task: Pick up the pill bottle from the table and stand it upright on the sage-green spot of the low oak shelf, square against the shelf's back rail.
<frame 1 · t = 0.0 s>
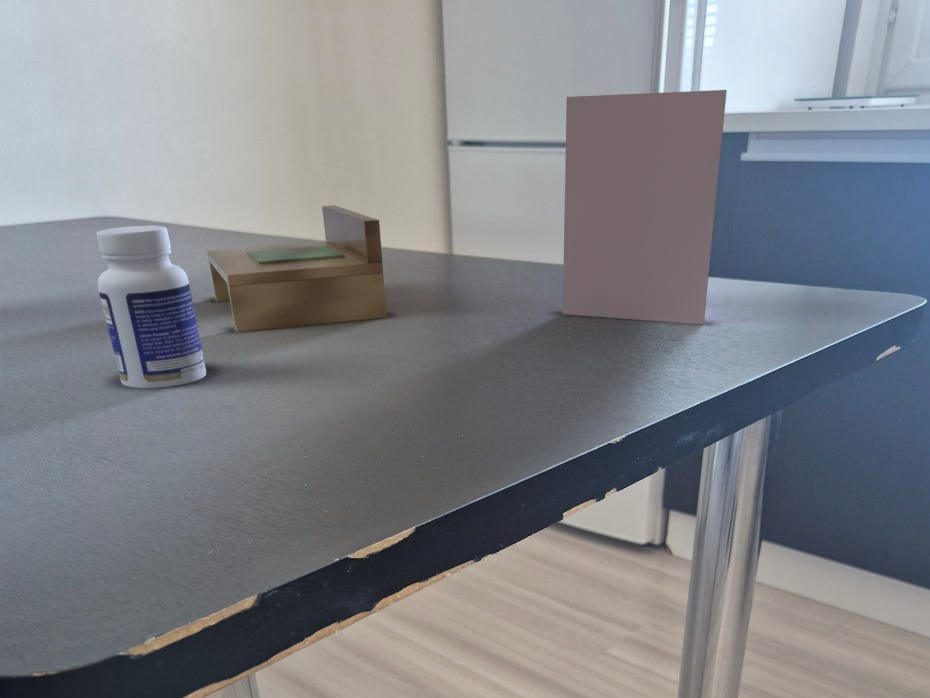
shelf: (296, 311, 75), on the table
pill bottle: (165, 384, 56), on the table
greeting card: (627, 322, 68), on the table
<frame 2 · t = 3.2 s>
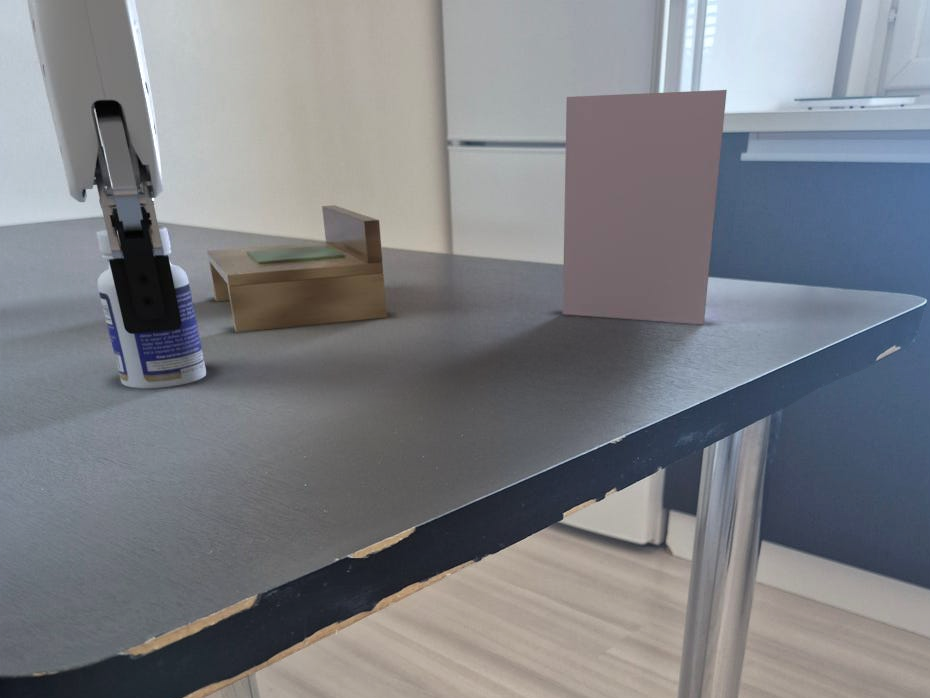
hand: (151, 318, 54), 4 cm above the table, tool pointing down, fingers closed on pill bottle, 5 cm apart
pill bottle: (165, 384, 56), on the table, touching gripper
everything else where it was.
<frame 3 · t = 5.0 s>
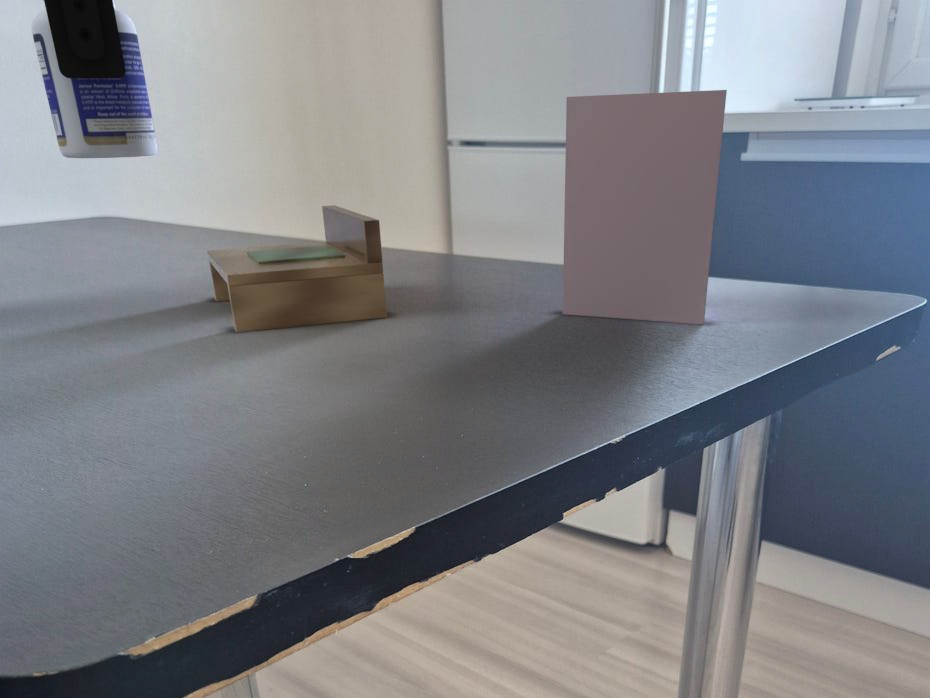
hand: (93, 75, 48), 17 cm above the table, tool pointing down, fingers closed on pill bottle, 5 cm apart
pill bottle: (111, 160, 50), point 12 cm above the table, touching gripper
everything else where it was.
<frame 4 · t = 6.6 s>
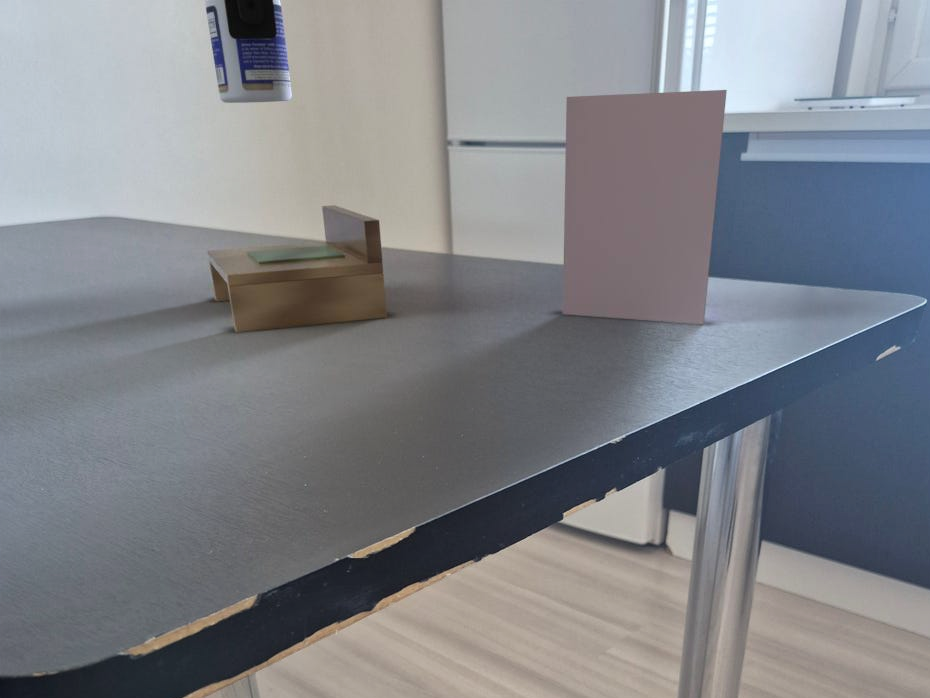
hand: (247, 38, 63), 19 cm above the table, tool pointing down, fingers closed on pill bottle, 5 cm apart
pill bottle: (257, 104, 65), point 15 cm above the table, touching gripper
everything else where it was.
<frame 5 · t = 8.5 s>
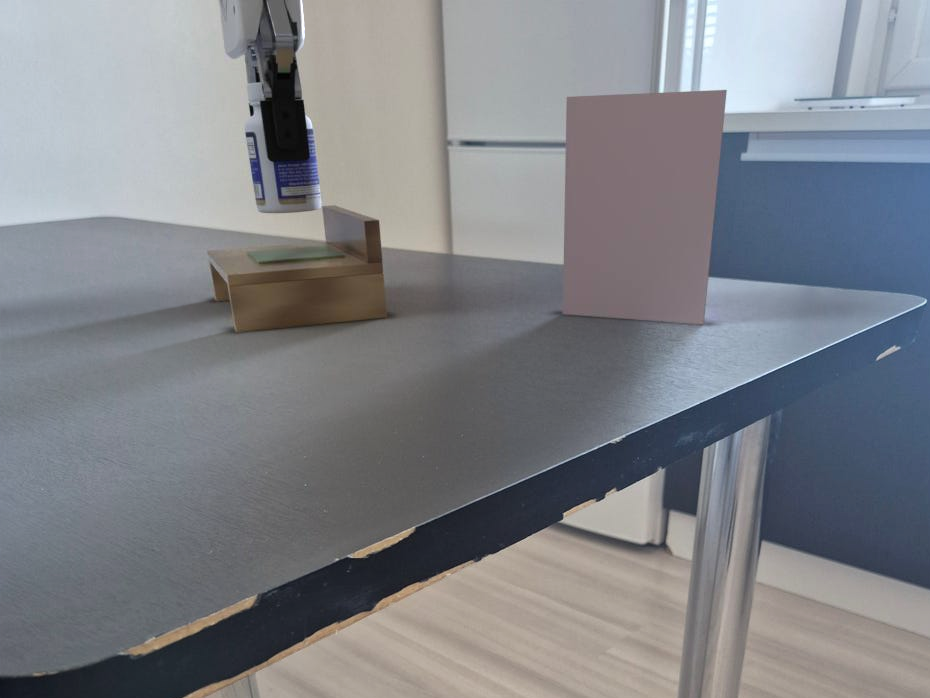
hand: (282, 157, 70), 12 cm above the table, tool pointing down, fingers closed on pill bottle, 5 cm apart
pill bottle: (290, 213, 72), point 8 cm above the table, touching gripper
everything else where it was.
when the fingers open (8 cm above the table, at t = 9.8 s): pill bottle stays where it is, resting on shelf.
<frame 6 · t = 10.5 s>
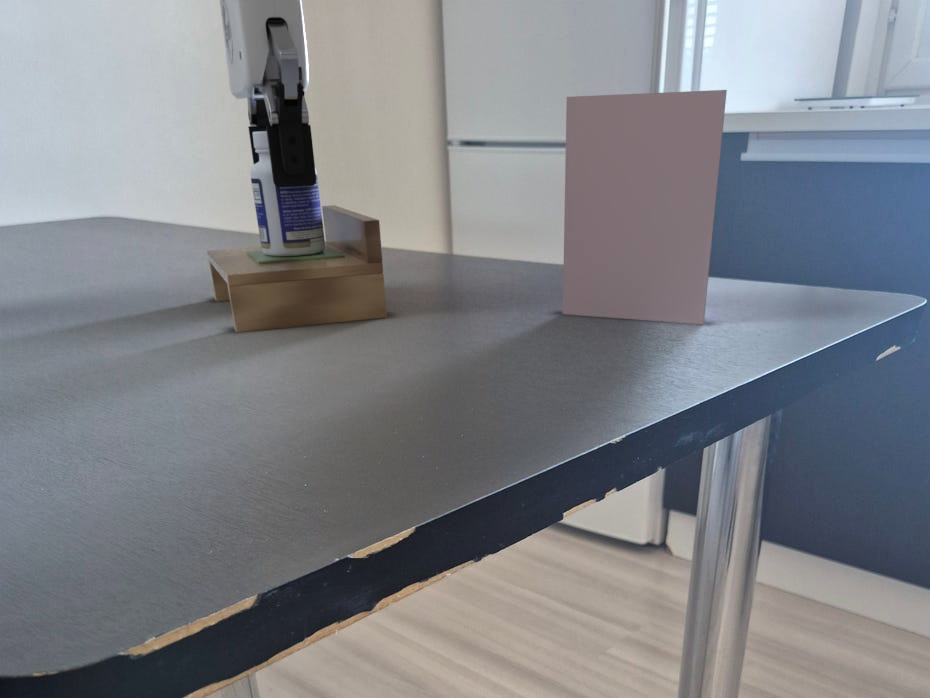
hand: (284, 182, 71), 10 cm above the table, tool pointing down, fingers open, 9 cm apart
pill bottle: (294, 255, 73), point 4 cm above the table, touching shelf
everything else where it was.
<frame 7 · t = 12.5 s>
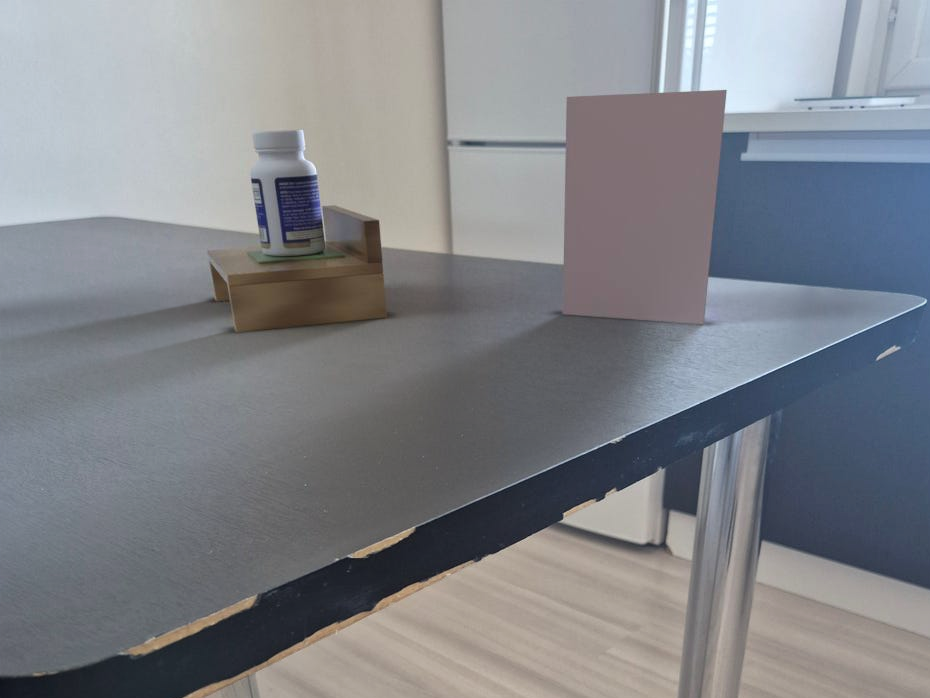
nothing on the table moved.
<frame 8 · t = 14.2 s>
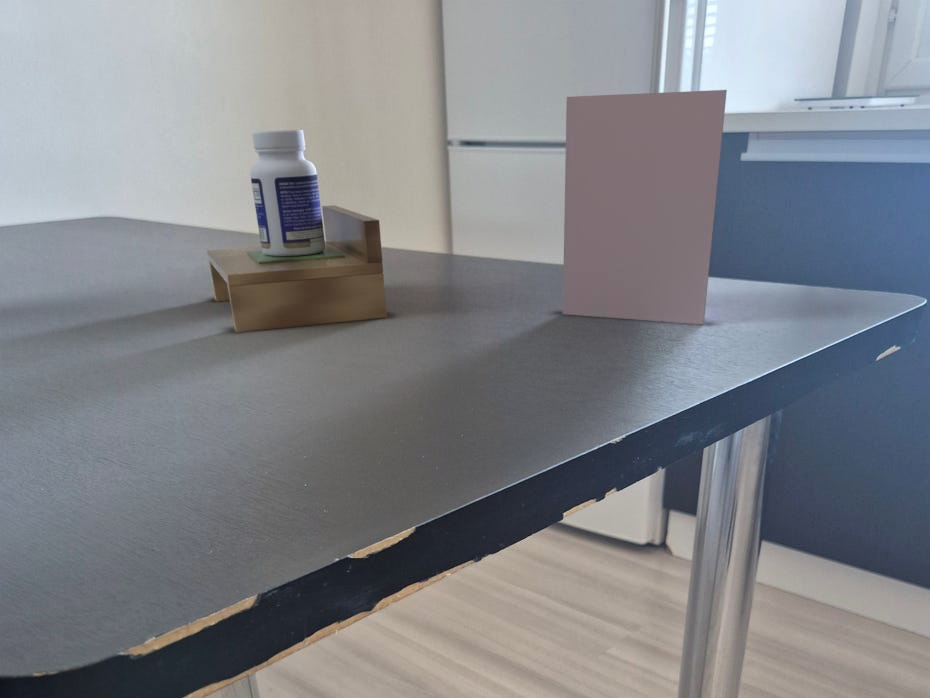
nothing on the table moved.
at the end: pill bottle 0.1 cm off-centre on the shelf, point 4.4 cm above the shelf's base; pill bottle tilted 0°; the gripper is holding nothing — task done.
